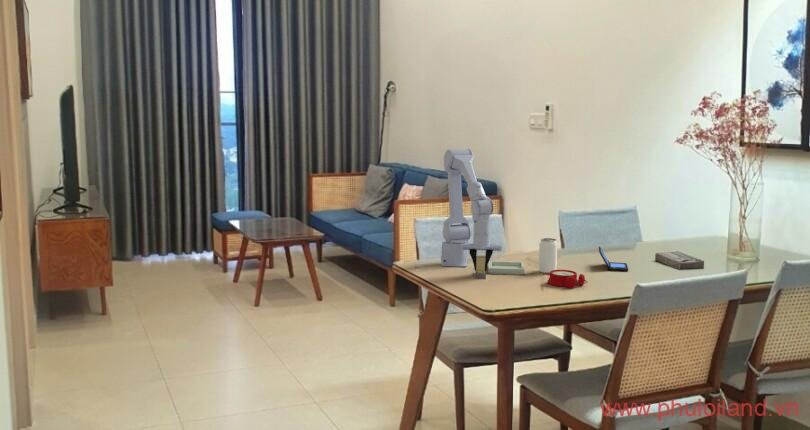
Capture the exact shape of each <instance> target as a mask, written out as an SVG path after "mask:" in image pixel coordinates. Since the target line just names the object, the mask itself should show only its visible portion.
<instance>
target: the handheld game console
mask: <svg viewBox="0 0 810 430" xmlns="http://www.w3.org/2000/svg"><path fill="white" fill-rule="evenodd" d="M598 253H599V255H600V256H601V258H602V260H603V262H604V263H605V265H606V267H607V272H622V273H623V272H625V273H627V272H629V267H628V264H627V263H626V262H616V261H615V262H613V261H611V262H610V261H609V260H608V258H607V257H606V256H607V255H605V253H604V251H603V249H602V247H601V246H598Z"/></svg>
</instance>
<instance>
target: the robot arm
mask: <svg viewBox="0 0 810 430" xmlns="http://www.w3.org/2000/svg"><path fill="white" fill-rule="evenodd" d="M474 159H475V156H474V153H473V151H472V149H470V148H467V149H466V148H465V149H463V148H462V149H448V148H447V150H446V151H445V153H444V155H443V167H444V172H446V173H447V184H448V185H447V186H448V187H447V188H448V201H449V202H448V203H449V216H448V217H447V219H445V220H444V221H443V226H442V227H443V228H442V237H443V239H444V240H445V241H442V242H441V256H440V261H441V265H440V266H441V267H463V268H464V267H465V268H466V267H467V265H468V261H467V251H469V256H470V258H471V260H472V263H473V267H474V271H475V272H476V258H477V255H478V253H477V252H478V251H485V255H486V258H485V271H487V272H488V266H489V261H491V260H490V259H491V257H492V256H493V253H494V252H502V251H503V249H502V248H503V245H502V244H492V243H490V235H491V234H490V233H491V232H490V231H491V227H490V226H491V215H493V213H494V202H493V200H492V199H491V198H490V197H489V196H487V195H486V192H485V190H484V188H483V185H482V182H479V181H478V180H477V177H476V173H475V170H474V166H473V165H474ZM462 176H463V178H464V180H465V182H466V184H467V186H466V191H467V194H468V197H469V199H470V203H471V205H470V211H471V216H472V220H473V238H472V241H473V242H472V243H468V242H469V240H470V239H471V237H472V228H471V224H470V220H469V219H468V218H466V217H465V216H464V208H463V207H464V205H463V189H462Z"/></svg>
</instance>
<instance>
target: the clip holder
mask: <svg viewBox="0 0 810 430" xmlns="http://www.w3.org/2000/svg"><path fill="white" fill-rule="evenodd" d="M487 274H488V270H487V271H485V274H484V271H478V270H477V273H476V272H475V273H474V275H473V276H474V277H473V278H474V279H485V280H486V278H487Z"/></svg>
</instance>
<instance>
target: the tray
mask: <svg viewBox="0 0 810 430" xmlns="http://www.w3.org/2000/svg"><path fill="white" fill-rule="evenodd" d="M487 274H491V275H494V274H496V275H518V276H525V262H524V261H507V260H506V261H505V260H501V261H500V260H489V263H488V266H487Z"/></svg>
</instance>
